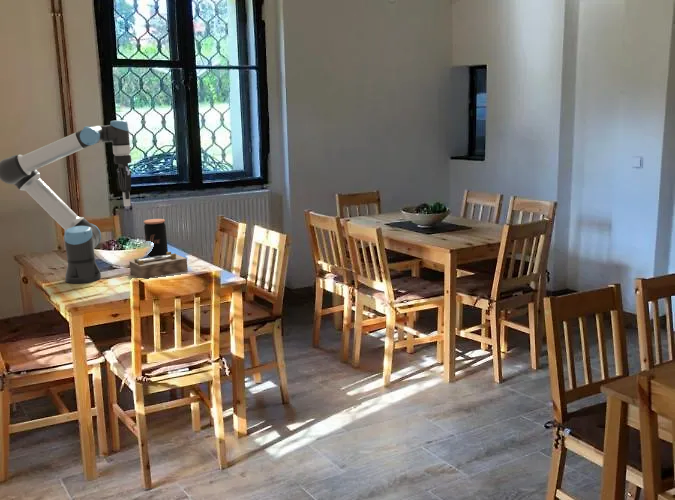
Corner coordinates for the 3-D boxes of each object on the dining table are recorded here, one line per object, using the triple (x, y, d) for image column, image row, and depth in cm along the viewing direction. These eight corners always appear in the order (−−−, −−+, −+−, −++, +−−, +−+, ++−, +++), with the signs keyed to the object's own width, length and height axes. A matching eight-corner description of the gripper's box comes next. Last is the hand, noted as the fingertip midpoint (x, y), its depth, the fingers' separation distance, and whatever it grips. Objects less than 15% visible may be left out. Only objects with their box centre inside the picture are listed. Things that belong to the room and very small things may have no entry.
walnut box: (141, 279, 317) (139, 261, 315) (130, 273, 328) (128, 256, 326) (187, 271, 329) (186, 253, 328) (175, 265, 341) (174, 249, 339)
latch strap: (138, 263, 321) (138, 260, 320) (136, 262, 323) (136, 259, 323) (173, 257, 330) (173, 254, 330) (171, 256, 333) (170, 253, 332)
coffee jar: (142, 256, 364) (139, 221, 360) (156, 252, 373) (153, 218, 369) (158, 257, 359) (155, 222, 355) (172, 253, 368) (169, 219, 364)
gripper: (135, 154, 321) (140, 206, 326) (125, 153, 332) (130, 203, 337) (118, 156, 317) (124, 208, 322) (109, 154, 327) (114, 205, 332)
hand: (127, 205), depth 329 cm, fingers closed
